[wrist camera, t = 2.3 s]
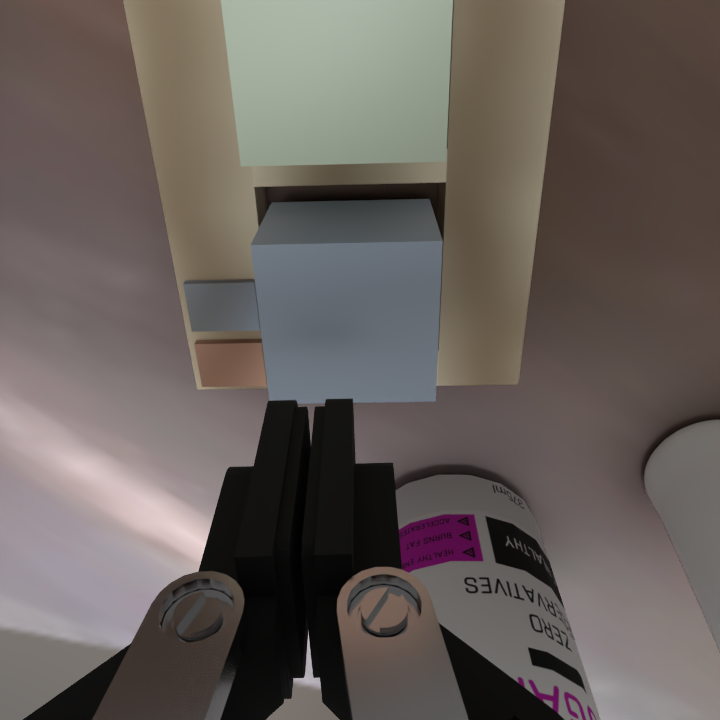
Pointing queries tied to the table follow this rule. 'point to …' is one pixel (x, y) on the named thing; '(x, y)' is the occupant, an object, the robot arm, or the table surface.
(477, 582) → the supplement can
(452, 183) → the keypad base
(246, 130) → the key sage
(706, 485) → the drinking glass
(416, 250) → the key slate
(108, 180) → the table surface
